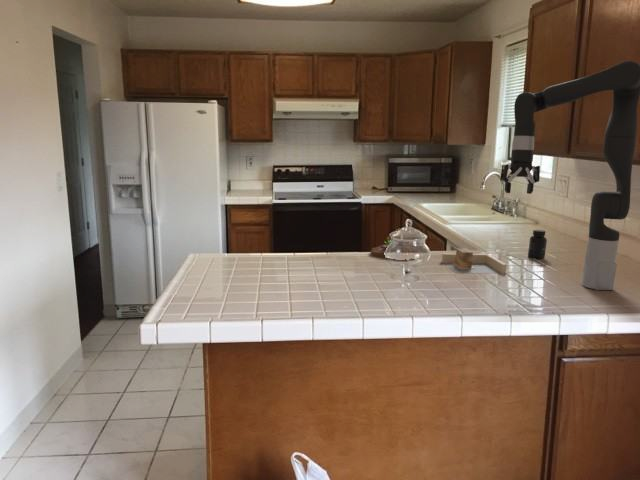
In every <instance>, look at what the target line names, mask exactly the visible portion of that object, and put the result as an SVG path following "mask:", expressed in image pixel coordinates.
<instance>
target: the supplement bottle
mask: <svg viewBox="0 0 640 480" xmlns="http://www.w3.org/2000/svg"><path fill="white" fill-rule="evenodd" d="M532 231H533V232H532V235H531V236H530V237H529V241H528V242H529V243H528V252H527V257H528V259H529V258H530V259H533V260H544V259H545V257H546V250H547V243H548V239H547V237H545V236H546V231H545V230H542V229H534V230H532Z"/></svg>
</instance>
